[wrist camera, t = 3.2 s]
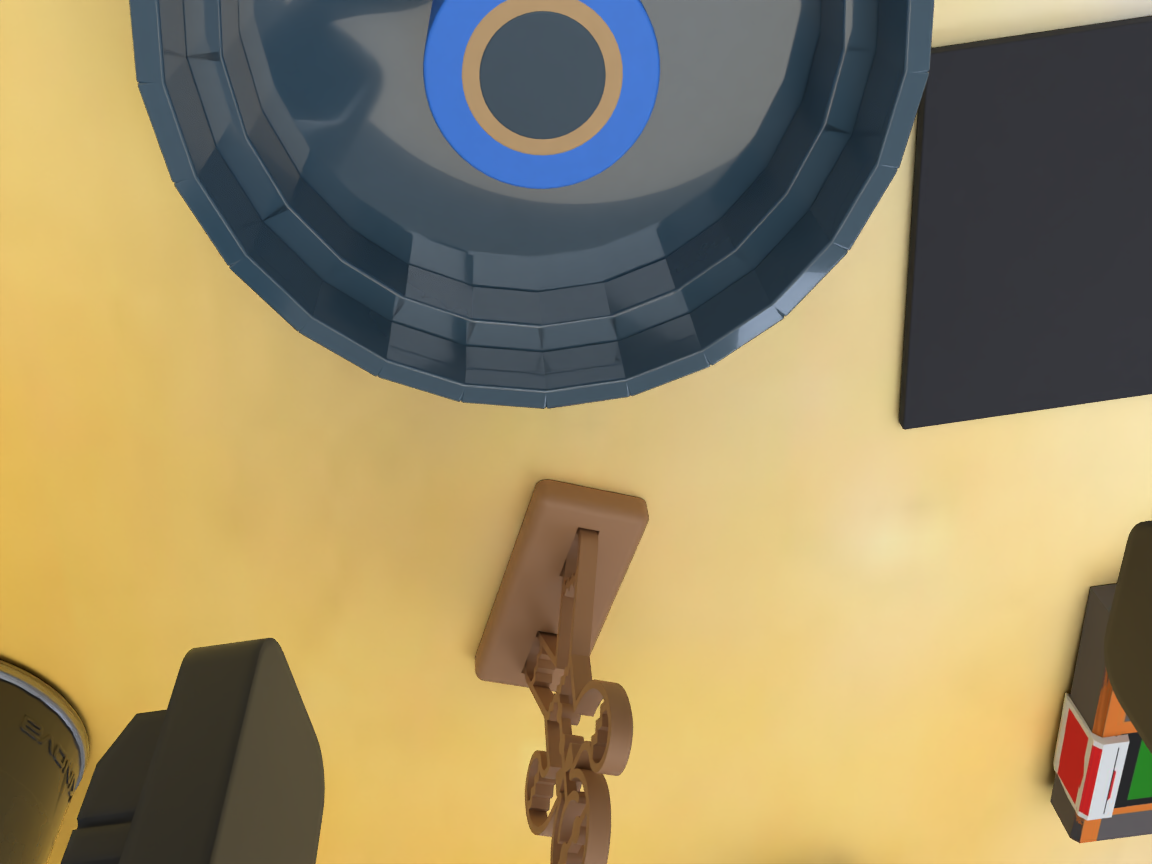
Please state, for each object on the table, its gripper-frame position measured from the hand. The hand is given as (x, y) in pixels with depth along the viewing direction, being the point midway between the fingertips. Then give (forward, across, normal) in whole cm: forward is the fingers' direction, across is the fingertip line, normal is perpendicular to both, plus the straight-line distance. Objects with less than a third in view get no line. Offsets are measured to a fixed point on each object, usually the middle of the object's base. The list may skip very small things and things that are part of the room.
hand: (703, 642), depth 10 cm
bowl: (+21, +1, -1) cm, 21 cm away
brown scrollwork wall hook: (+21, +3, +18) cm, 28 cm away
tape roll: (+20, +1, -1) cm, 20 cm away
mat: (+21, -15, +7) cm, 27 cm away
